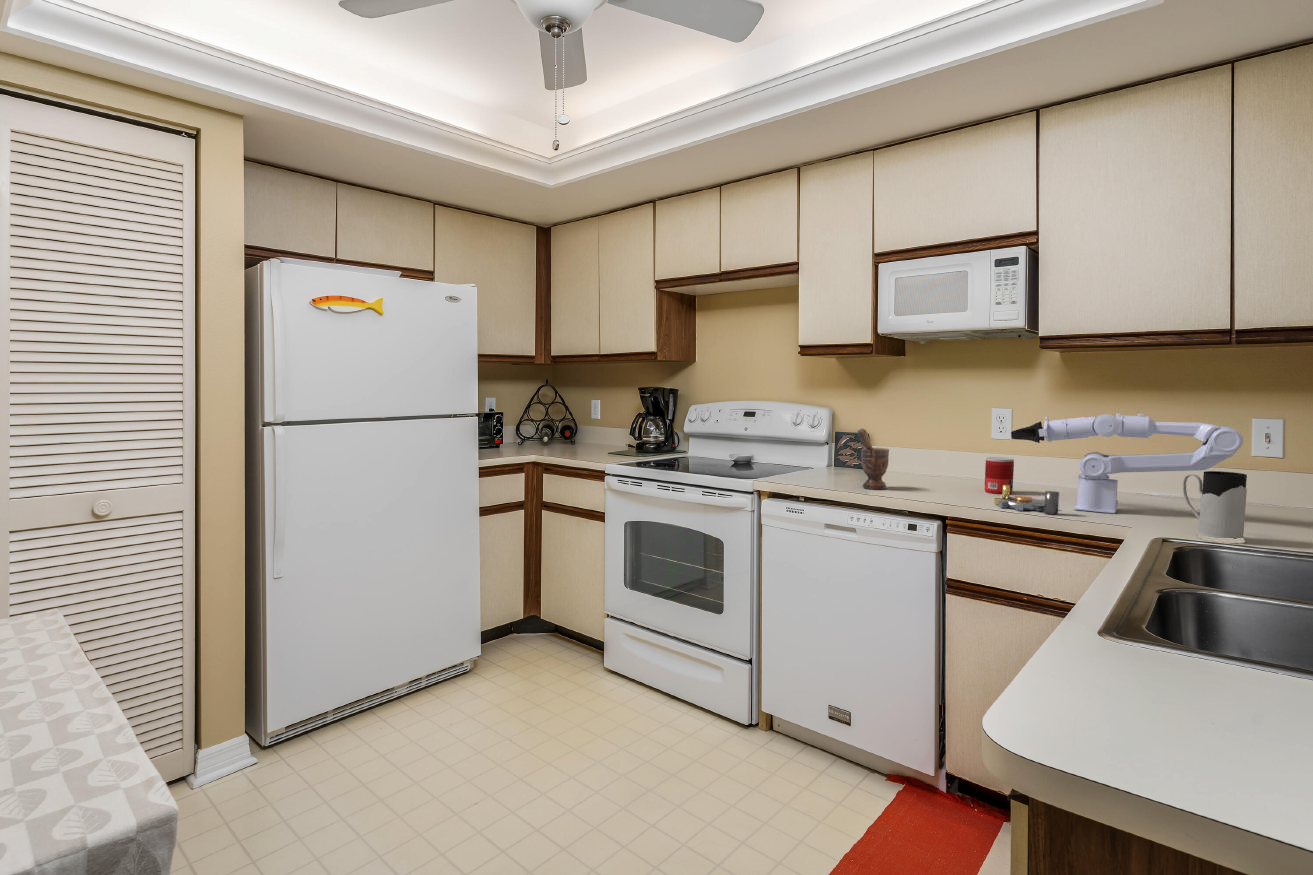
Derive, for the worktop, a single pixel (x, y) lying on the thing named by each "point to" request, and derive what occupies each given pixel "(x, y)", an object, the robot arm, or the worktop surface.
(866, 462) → the mortar and pestle
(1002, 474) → the canned food
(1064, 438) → the robot arm
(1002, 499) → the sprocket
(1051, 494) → the roller
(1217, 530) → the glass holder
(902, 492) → the worktop surface
